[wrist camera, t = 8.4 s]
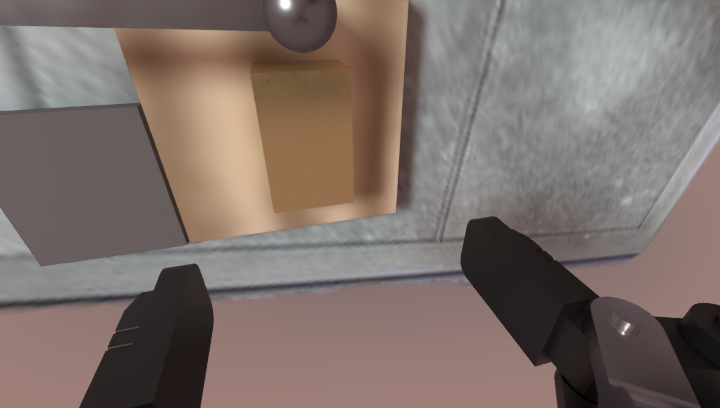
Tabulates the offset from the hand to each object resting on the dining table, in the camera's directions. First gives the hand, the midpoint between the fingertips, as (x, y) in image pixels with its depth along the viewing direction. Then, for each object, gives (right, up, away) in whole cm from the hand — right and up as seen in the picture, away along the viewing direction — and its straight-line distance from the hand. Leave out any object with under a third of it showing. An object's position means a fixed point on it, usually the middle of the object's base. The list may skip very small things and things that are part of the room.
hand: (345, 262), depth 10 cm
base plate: (-5, +8, +14) cm, 17 cm away
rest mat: (-19, +3, +13) cm, 23 cm away
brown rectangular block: (-3, +7, +12) cm, 14 cm away
